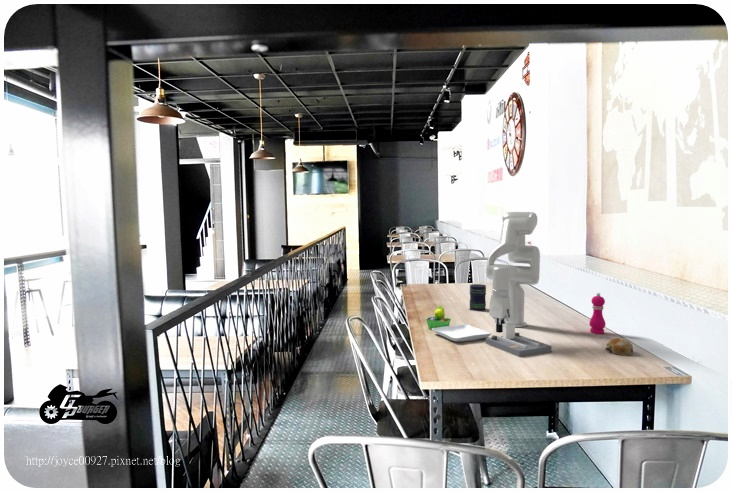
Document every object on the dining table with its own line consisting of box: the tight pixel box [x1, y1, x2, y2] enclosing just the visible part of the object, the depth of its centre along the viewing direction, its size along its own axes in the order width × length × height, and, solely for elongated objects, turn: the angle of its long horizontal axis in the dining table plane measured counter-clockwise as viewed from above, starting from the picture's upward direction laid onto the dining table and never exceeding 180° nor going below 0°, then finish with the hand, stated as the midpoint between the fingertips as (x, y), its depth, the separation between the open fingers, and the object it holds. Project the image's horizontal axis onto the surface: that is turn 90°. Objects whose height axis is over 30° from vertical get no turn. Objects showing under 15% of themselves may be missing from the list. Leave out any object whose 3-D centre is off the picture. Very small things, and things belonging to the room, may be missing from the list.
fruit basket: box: [425, 305, 451, 330], centre depth 248 cm, size 11×9×11 cm
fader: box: [502, 323, 516, 339], centre depth 219 cm, size 3×5×7 cm, turn 114°
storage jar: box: [469, 283, 487, 312], centre depth 296 cm, size 10×10×15 cm
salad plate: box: [431, 324, 492, 343], centre depth 232 cm, size 21×21×3 cm
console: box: [485, 331, 553, 358], centre depth 213 cm, size 22×18×4 cm
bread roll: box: [605, 337, 634, 356], centre depth 206 cm, size 10×10×8 cm
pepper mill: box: [588, 292, 606, 335], centre depth 239 cm, size 7×7×20 cm
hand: (499, 332), depth 224 cm, fingers closed
